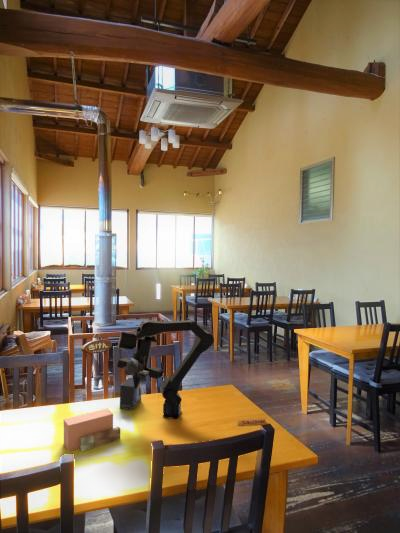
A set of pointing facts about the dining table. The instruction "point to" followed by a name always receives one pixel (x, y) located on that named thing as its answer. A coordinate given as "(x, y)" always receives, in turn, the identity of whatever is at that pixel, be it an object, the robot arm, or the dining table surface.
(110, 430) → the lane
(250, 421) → the chocolate bar
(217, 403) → the dining table surface
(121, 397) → the small box
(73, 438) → the block
